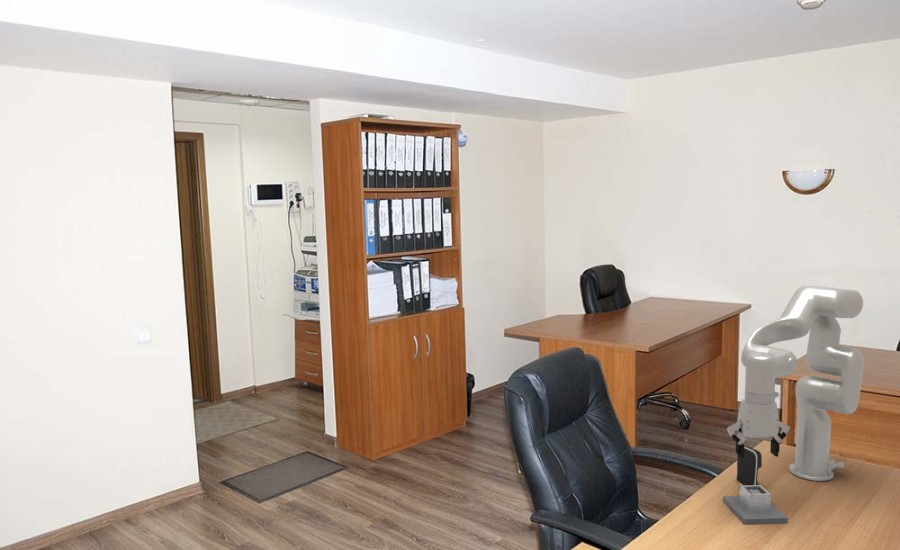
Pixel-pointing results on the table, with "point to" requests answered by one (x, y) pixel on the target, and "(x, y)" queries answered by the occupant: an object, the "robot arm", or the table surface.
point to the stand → (754, 517)
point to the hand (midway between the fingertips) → (757, 455)
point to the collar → (755, 498)
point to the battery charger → (749, 466)
